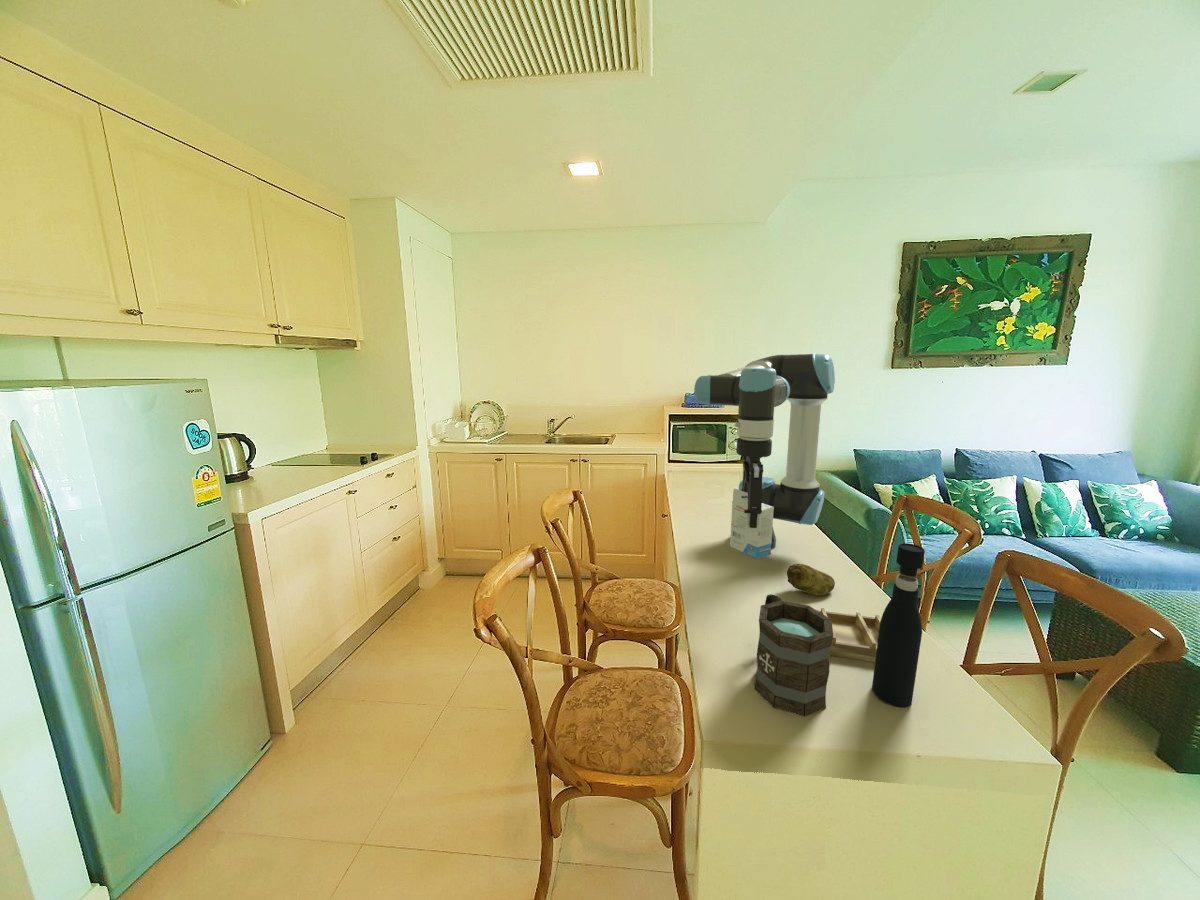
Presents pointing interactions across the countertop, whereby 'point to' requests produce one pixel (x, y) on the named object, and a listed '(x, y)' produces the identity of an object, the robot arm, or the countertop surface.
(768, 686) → the mug
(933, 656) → the countertop surface
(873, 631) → the rack
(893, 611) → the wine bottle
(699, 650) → the countertop surface
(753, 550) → the ink box
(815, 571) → the potato
